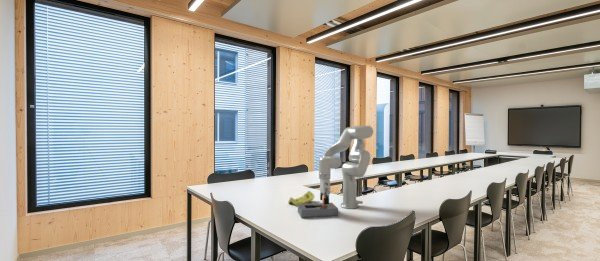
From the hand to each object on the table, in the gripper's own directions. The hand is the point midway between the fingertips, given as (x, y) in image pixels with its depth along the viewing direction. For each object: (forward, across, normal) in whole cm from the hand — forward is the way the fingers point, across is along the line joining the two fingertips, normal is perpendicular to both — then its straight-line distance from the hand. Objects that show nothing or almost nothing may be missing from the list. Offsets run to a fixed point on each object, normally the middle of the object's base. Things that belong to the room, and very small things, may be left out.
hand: (324, 202), depth 187 cm
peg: (+7, 0, 0) cm, 7 cm away
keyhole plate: (+8, 0, +5) cm, 9 cm away
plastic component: (+8, +26, +10) cm, 29 cm away
